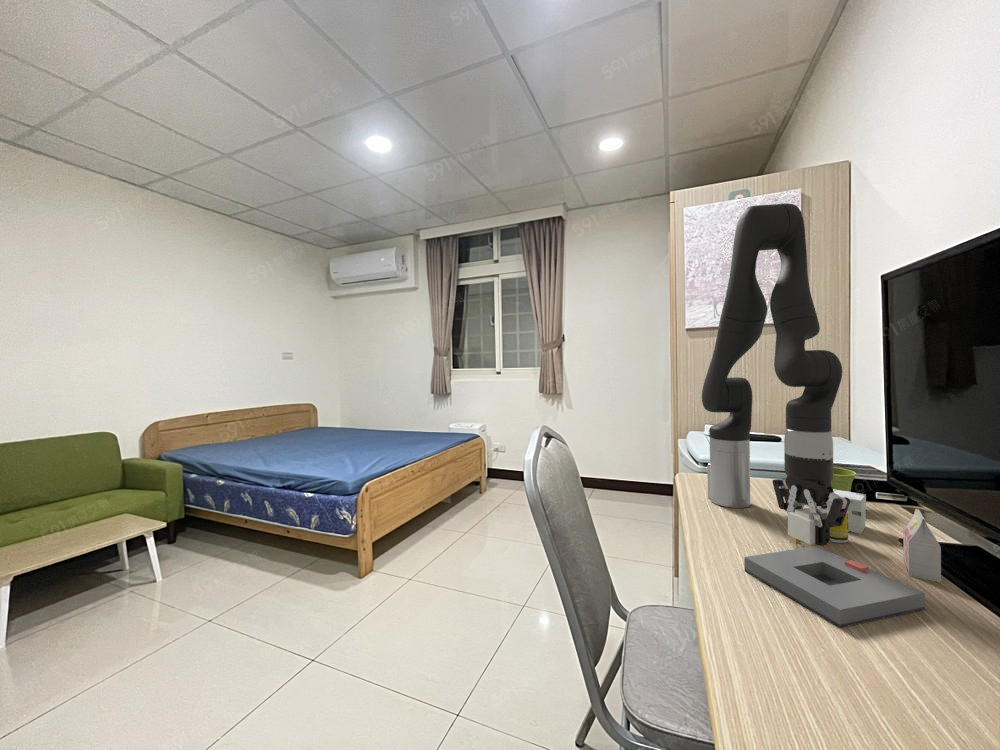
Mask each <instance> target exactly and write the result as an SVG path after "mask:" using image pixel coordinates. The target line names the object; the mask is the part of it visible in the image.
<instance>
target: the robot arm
mask: <svg viewBox="0 0 1000 750" xmlns="http://www.w3.org/2000/svg"><path fill="white" fill-rule="evenodd" d="M803 216H804V215H803V213H802V210H801V209H800V208H799V206H797V205H796V204H794V203H775V204H774V203H773V204H759V205H757V204H756V205H751V206H749V207H746V208H745V209H744V210H743V211H742V213H741V214H740V215H739V218H738V220H737V223H736V227H735V231H734V238H733V245H732V254H731V262H730V271H729V278H728V282H727V283H728V284H727V288H726V292H725V297H724V302H723V304H722V305H723V306H722V308H721V309H722V310H721V312H720V318H719V322H718V328H717V333H716V334H717V335H716V340H715V344H714V349H713V353H712V356H711V360H710V362H709V366H708V369H707V373H706V375H705V379H704V382H703V385H702V390H701V402H702V406H703V408H704V409H705V410H706V411H707V412H710V413H729V415H728V417H727V418H726V419H724V420H723V421H721V422H718V423H715V424H713V425H710V427H709V433H708V434H709V462H708V463H707V466H706V469H707V474H706V475H707V499H709V500H710V501H711V502H712V503H714V504H716V505H719V506H722V507H726V508H732V509H734V508H736V509H744V508H748V507H751V449H750V448H751V445H750V444H751V442H750V436H751V434H750V433H751V429H752V416H753V415H752V414H753V390H752V386H751V383H750V382H749V380H747V378H744V377H729V374H730V372H731V370H732V369H733V367H734V366H735V364H737V362H739V360H740V359H742V357H743V356H744V355H745V354H746V353H747V352H748V351H750V350H751V349H752V347H753V346H755V344H756V343H757V342H758V340H759V339H760V338H761V336H762V333H763V329H764V326H765V323H766V319H767V316H768V305H767V301H766V298H765V295H764V293H763V291H762V289H761V287H760V284H759V283H758V279H757V276H756V275H757V274H756V271H757V269H756V268H757V260H758V255H759V252H760V251H772V250H776V251H777V254H778V256H779V260H780V271H779V274H778V277H777V280H776V282H775V284H774V286H773V289H772V292H771V295H770V301H769V308H770V315H771V319H772V322H773V327H774V330H775V334H776V337H775V346H774V347H775V351H774V361H773V362H774V365H773V367H774V373H775V375H776V377H777V378H778V380H779V381H780V382H781V383H782V384H783V385H785V386H787V387H792V388H801V387H804V388H803V391H802V395H800V396H799V397H796V398H794V399H791V400H789V401H788V402H787V403H786V406H785V434H784V441H783V443H784V444H783V445H784V446H783V447H784V450H783V451H784V453H783V454H784V458H783V459H784V473H785V475H786V478H776V479H772V486H773V489H774V493H775V497H776V498H775V499H776V501H777V505H778V507H779V509H780V510H784V511H785V513H786V514H787V515H788V513H789V512H795V510H796V509H804V507H805V506H807V507H808V508H809V509H810V512H811V513H812V514H813V515H814V519H815V523H816V525H817V526H815V544H816V545H819V546H818V547H823V546H827V545H828V544H829V543H830V542H831V541H830V527H836V526H842V524H843V521H844V518H845V516H846V513H847V510H848V507H849V505H850V499H849V498H847V497H840V496H839V495H837V494H835V493H834V491H833V488H832V486H831V481H832V479H833V467H834V440H833V435H832V433H833V432H832V409H833V406H834V403H835V401H836V397H837V394H838V391H839V388H840V385H841V383H842V377H843V366H842V363H841V360H840V359H839V357H838V355H836V354H835V353H834V352H833V351H830V350H825V349H817V350H816V349H815V350H813V349H812V350H806V348H805V345H806V341H807V340H810V339H813V338H815V337H816V336H817V335H819V333H820V330H821V328H820V327H821V326H820V323H819V319H818V315H817V314H818V313H817V311H816V307H815V305H814V301H813V298H812V293H811V292H812V291H811V290H810V288H811V287H810V280H809V272H808V271H809V269H808V254H807V240H806V228H805V221H804V217H803ZM829 499H830V503H828V500H829ZM829 504H830V505H831V507H829ZM819 506H821V508H819V509H818V507H819ZM821 514H822V516H821ZM822 517H823V519H822Z"/></svg>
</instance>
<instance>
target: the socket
mask: <svg viewBox="0 0 1000 750" xmlns="http://www.w3.org/2000/svg"><path fill="white" fill-rule="evenodd" d="M743 558H744V559H743V560H744V561H743V562H744V564H743V565H744V572H746V573H748V574H749V575H751V576H752V577H754V578H756V579H757V580H759V581H761V582H762V583H765V584H766V585H767V586H769V587H771V588H773V589H775V590H776V591H778V592H779V593H781V594H783V595H784V596H786V597H787V598H790V599H791V600H793V602H796V603H798V604H799V605H801V606H803V607H805V608H806V609H808V610H809V609H810V610H809V611H811V610H812V611H811V612H812V613H815V614H816V615H818V616H820V618H821V617H822V618H823V619H825V620H827V621H828V622H830V623H831V624H832V625H835V626H836V627H838V628H845V627H846V628H847V627H850V626H855V625H859V624H864V623H869V622H874V621H878V620H883V619H887V618H888V619H889V618H892V617H897V616H901V615H906V614H911V613H914V612H919V611H920V612H921V611H925V610H926V599H925V597H926V592H924V591H923V590H922V591H921V590H919V589H917V588H915V587H913V586H910V585H908V584H906V583H903V582H901V581H898V580H896V579H893V578H892V577H889V576H886V575H885V574H882V573H880V572H877V571H875V570H873V569H870V568H869V566H867V565H865V564H862V563H860V562H858V561H855V560H854V559H853V560H852V559H851V560H849V559H848V558H845V557H843V556H840V555H838V554H835V553H834V552H831V551H829V550H826V549H825V548H822V547H821V546H812V547H806V548H805V547H800V548H799V547H798V548H793V549H788V550H782V551H781V550H780V551H775V552H767V553H761V554H754V555H748V556H744V557H743Z"/></svg>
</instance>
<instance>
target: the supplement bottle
mask: <svg viewBox="0 0 1000 750" xmlns="http://www.w3.org/2000/svg"><path fill="white" fill-rule="evenodd" d="M828 503H830V499H829V500H828ZM829 507H831V505H830V504H829ZM817 508H818V509H819V508H821V506H818V507H817ZM830 542H831V543H838V544H839V543H840V544H844V543H848V542H849V531H848V511H847V513H846V516H845V518H844V521H843V524H842V526H836V527H830Z"/></svg>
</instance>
